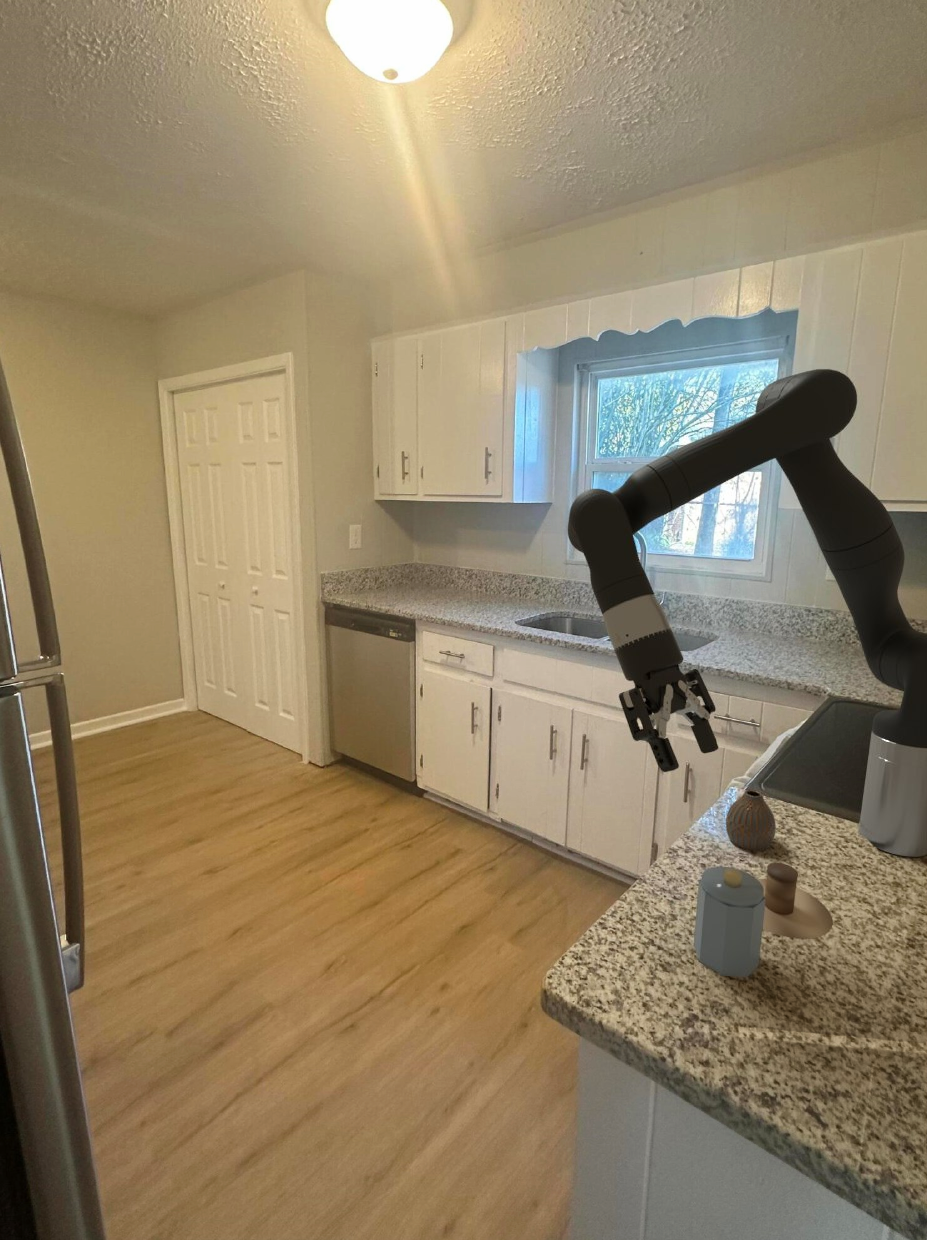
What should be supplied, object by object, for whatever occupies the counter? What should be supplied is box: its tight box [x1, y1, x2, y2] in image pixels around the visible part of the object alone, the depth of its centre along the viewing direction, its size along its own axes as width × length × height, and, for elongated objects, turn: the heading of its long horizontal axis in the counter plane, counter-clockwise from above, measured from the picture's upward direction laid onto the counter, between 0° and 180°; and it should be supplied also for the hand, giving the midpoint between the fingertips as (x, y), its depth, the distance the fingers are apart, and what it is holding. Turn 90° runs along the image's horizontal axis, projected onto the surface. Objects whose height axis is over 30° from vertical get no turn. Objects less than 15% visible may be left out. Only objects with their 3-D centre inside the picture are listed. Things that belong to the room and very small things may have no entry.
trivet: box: [756, 878, 833, 940], centre depth 80 cm, size 12×12×1 cm
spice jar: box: [765, 862, 799, 915], centre depth 80 cm, size 4×4×5 cm
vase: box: [725, 789, 777, 852], centre depth 95 cm, size 7×7×9 cm
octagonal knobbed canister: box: [693, 865, 766, 978], centre depth 70 cm, size 6×6×11 cm
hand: (691, 760), depth 76 cm, fingers open, 8 cm apart
